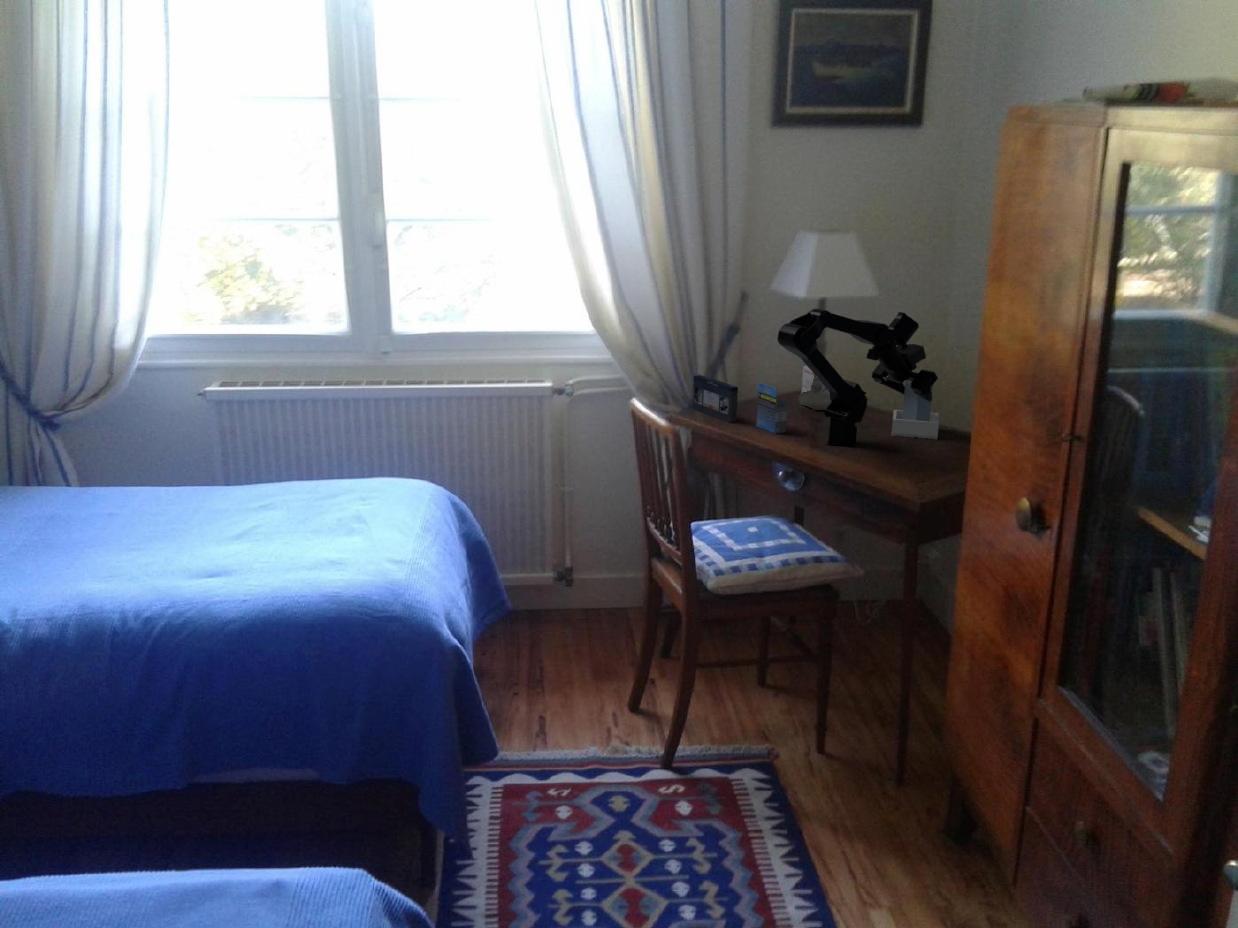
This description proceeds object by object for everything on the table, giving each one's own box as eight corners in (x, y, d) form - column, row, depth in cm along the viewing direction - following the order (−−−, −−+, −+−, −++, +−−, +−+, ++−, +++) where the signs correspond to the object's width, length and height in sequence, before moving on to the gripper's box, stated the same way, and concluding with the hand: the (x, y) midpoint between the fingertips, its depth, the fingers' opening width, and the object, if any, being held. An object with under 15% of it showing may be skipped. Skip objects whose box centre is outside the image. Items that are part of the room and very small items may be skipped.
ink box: (830, 410, 307) (833, 370, 304) (815, 411, 305) (818, 371, 302) (814, 404, 315) (817, 364, 311) (799, 405, 313) (802, 365, 310)
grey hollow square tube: (914, 432, 281) (919, 384, 277) (901, 428, 285) (905, 380, 282) (928, 430, 283) (933, 382, 280) (914, 426, 288) (919, 378, 284)
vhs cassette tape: (691, 409, 305) (693, 375, 303) (700, 408, 307) (702, 374, 304) (727, 423, 290) (729, 387, 287) (737, 422, 291) (738, 386, 289)
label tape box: (786, 432, 281) (789, 387, 278) (773, 434, 280) (776, 388, 276) (767, 425, 289) (770, 380, 285) (754, 426, 287) (757, 381, 284)
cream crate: (891, 435, 281) (892, 419, 279) (892, 425, 291) (893, 409, 290) (937, 439, 278) (938, 423, 277) (936, 428, 289) (938, 413, 287)
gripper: (936, 340, 267) (962, 380, 275) (884, 329, 282) (910, 367, 291) (910, 374, 265) (937, 413, 274) (858, 361, 281) (886, 398, 289)
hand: (918, 396), depth 282 cm, fingers open, 9 cm apart
